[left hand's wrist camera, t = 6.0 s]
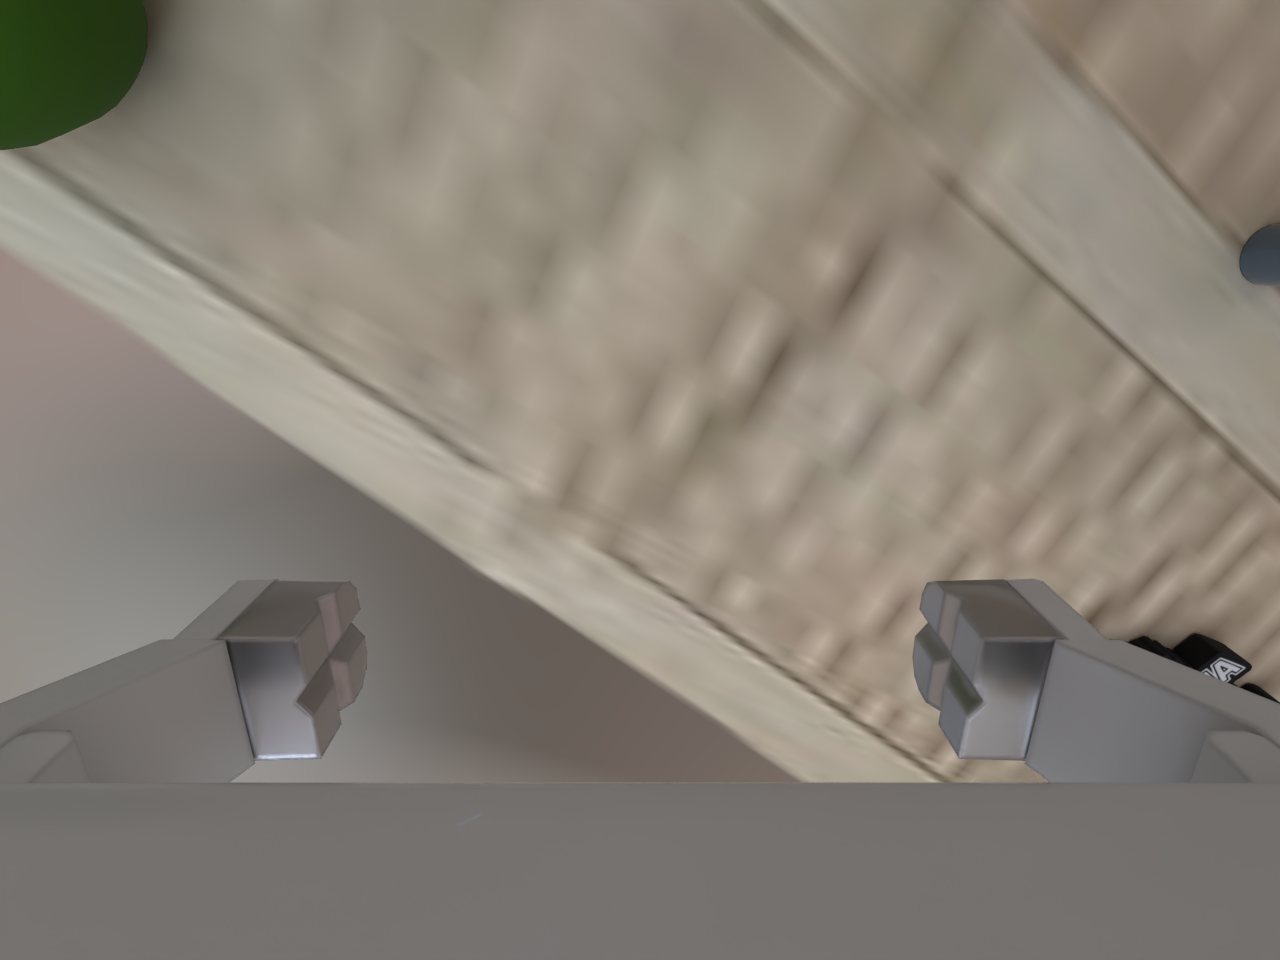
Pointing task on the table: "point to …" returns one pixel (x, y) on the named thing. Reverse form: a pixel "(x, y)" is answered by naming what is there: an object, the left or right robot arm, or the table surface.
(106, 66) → the vase
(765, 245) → the table surface
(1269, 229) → the dark grey cylinder
